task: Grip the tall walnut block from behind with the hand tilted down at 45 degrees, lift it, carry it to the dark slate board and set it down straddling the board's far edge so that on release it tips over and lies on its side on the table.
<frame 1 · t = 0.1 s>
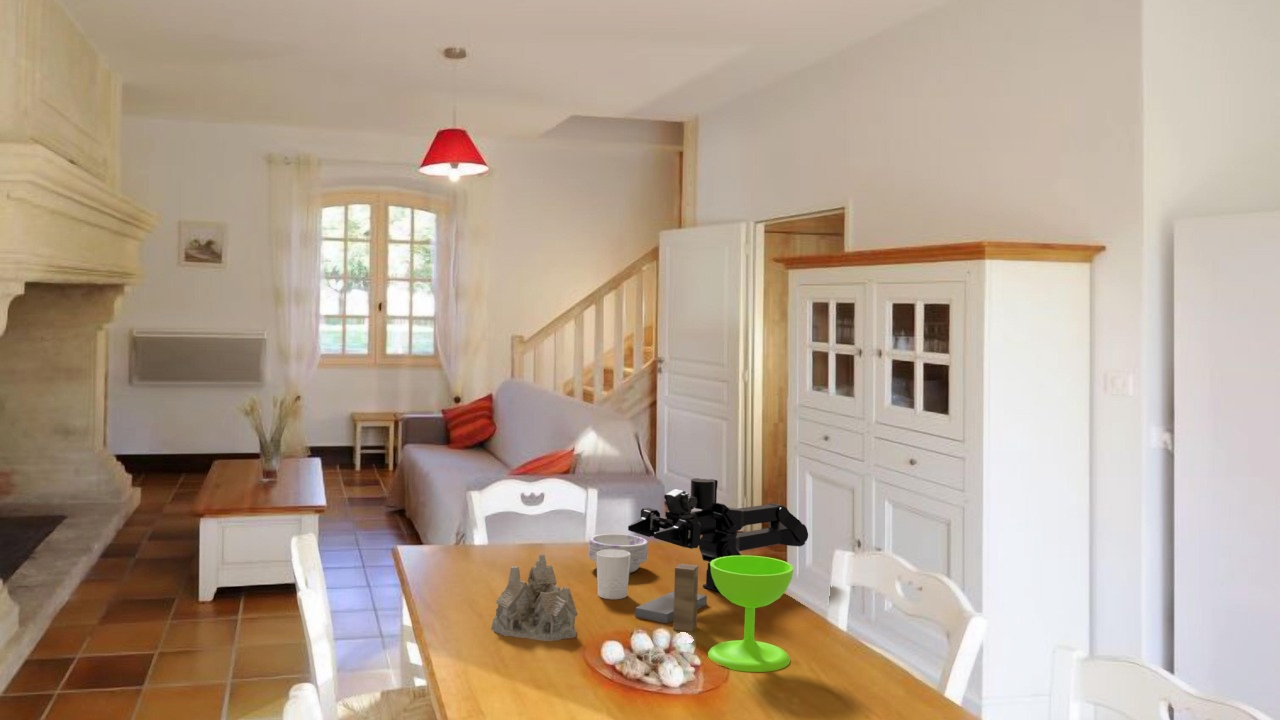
hand: (641, 531, 231), 17 cm above the table, fingers open, 9 cm apart
white cup: (612, 596, 238), on the table
slate board: (671, 610, 227), on the table
paper bowls: (617, 570, 263), on the table
walnut block: (684, 627, 215), on the table
ceramic cottage: (534, 631, 211), on the table
wineglass: (748, 658, 197), on the table
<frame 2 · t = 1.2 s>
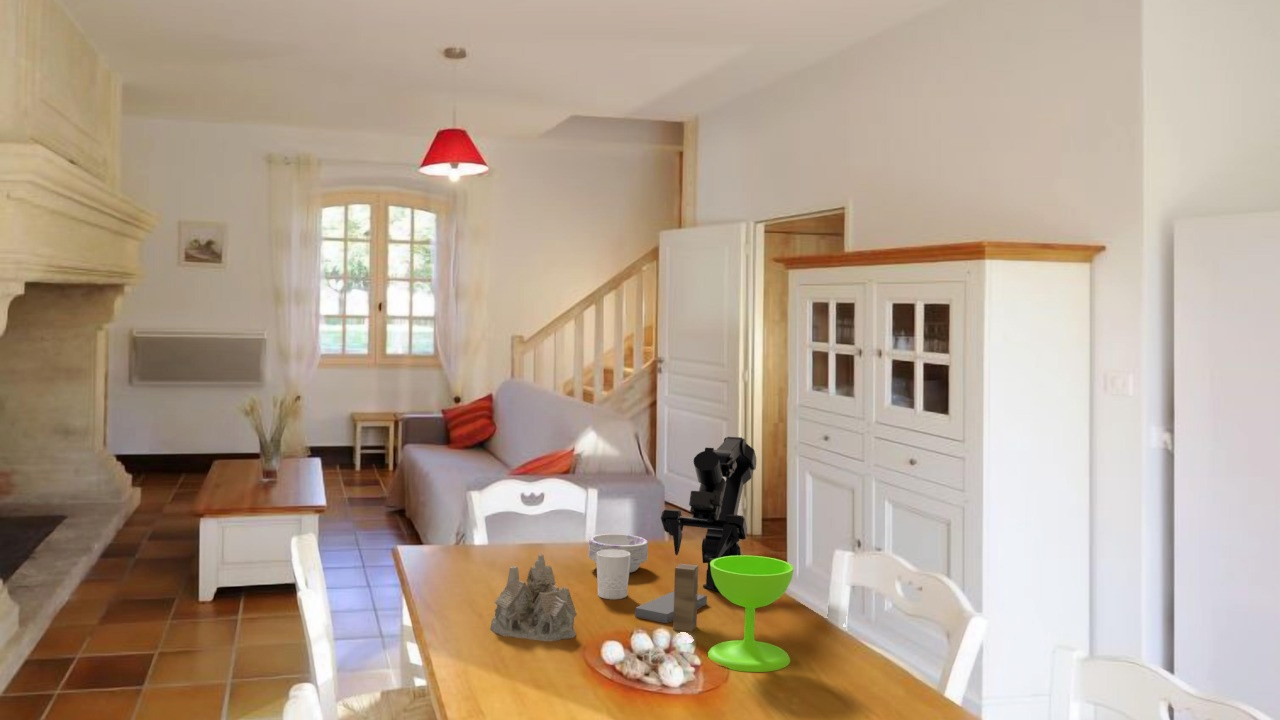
hand: (696, 556, 222), 13 cm above the table, fingers open, 9 cm apart
nothing on the table moved.
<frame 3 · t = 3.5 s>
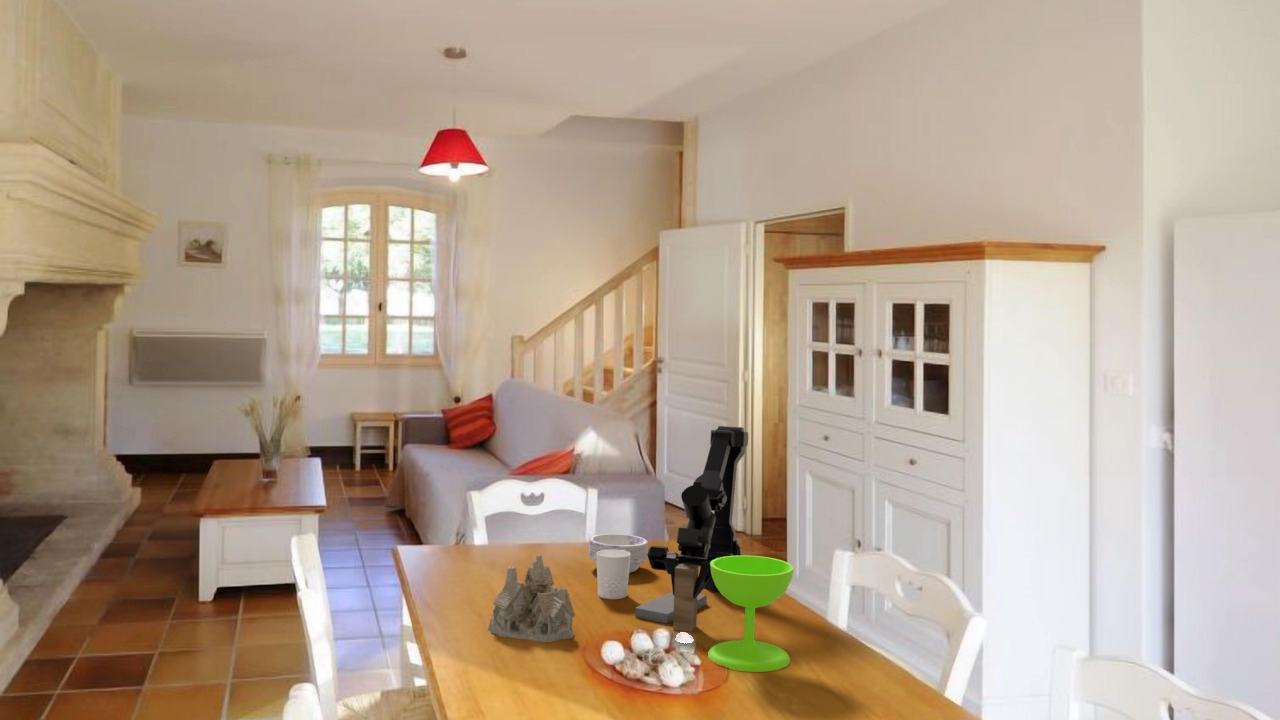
hand: (684, 596, 213), 7 cm above the table, fingers closed on walnut block, 4 cm apart
walnut block: (684, 627, 215), on the table, touching gripper
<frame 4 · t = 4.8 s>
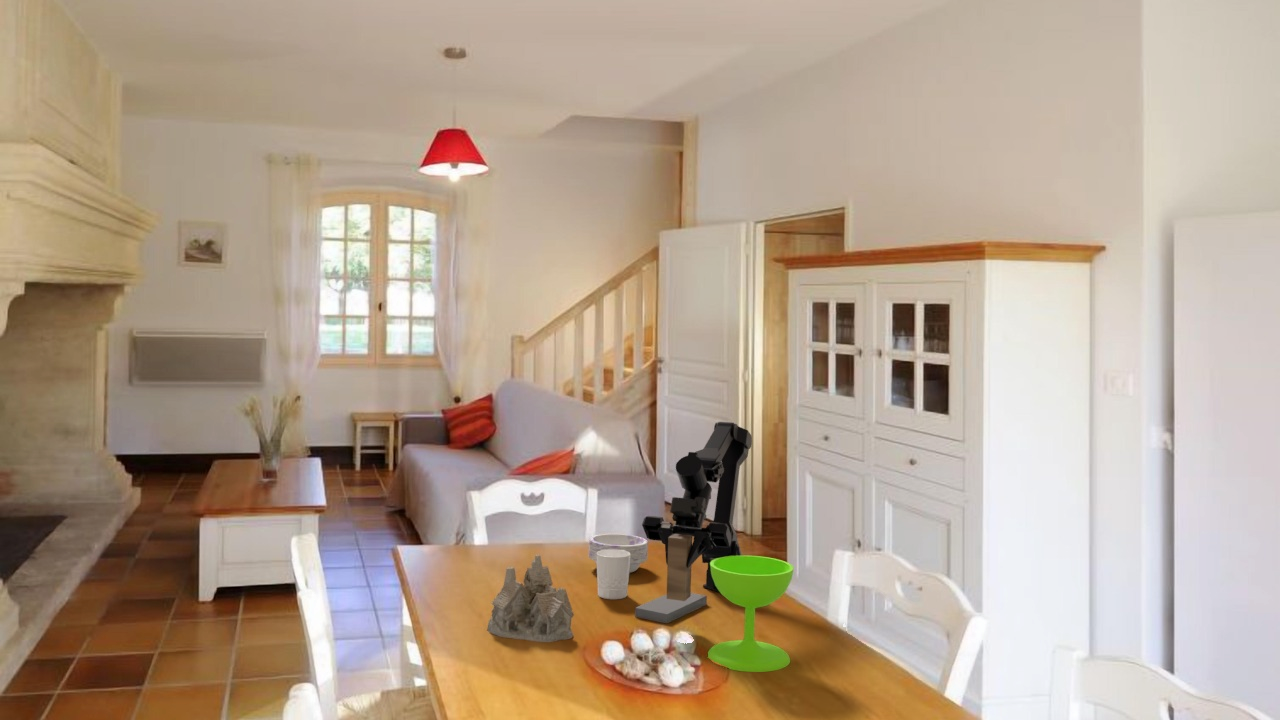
hand: (677, 565, 214), 13 cm above the table, fingers closed on walnut block, 4 cm apart
walnut block: (678, 597, 215), point 6 cm above the table, touching gripper
when the fingers open (10 cm above the table, at t = 6.4 s): walnut block stays where it is, resting on slate board.
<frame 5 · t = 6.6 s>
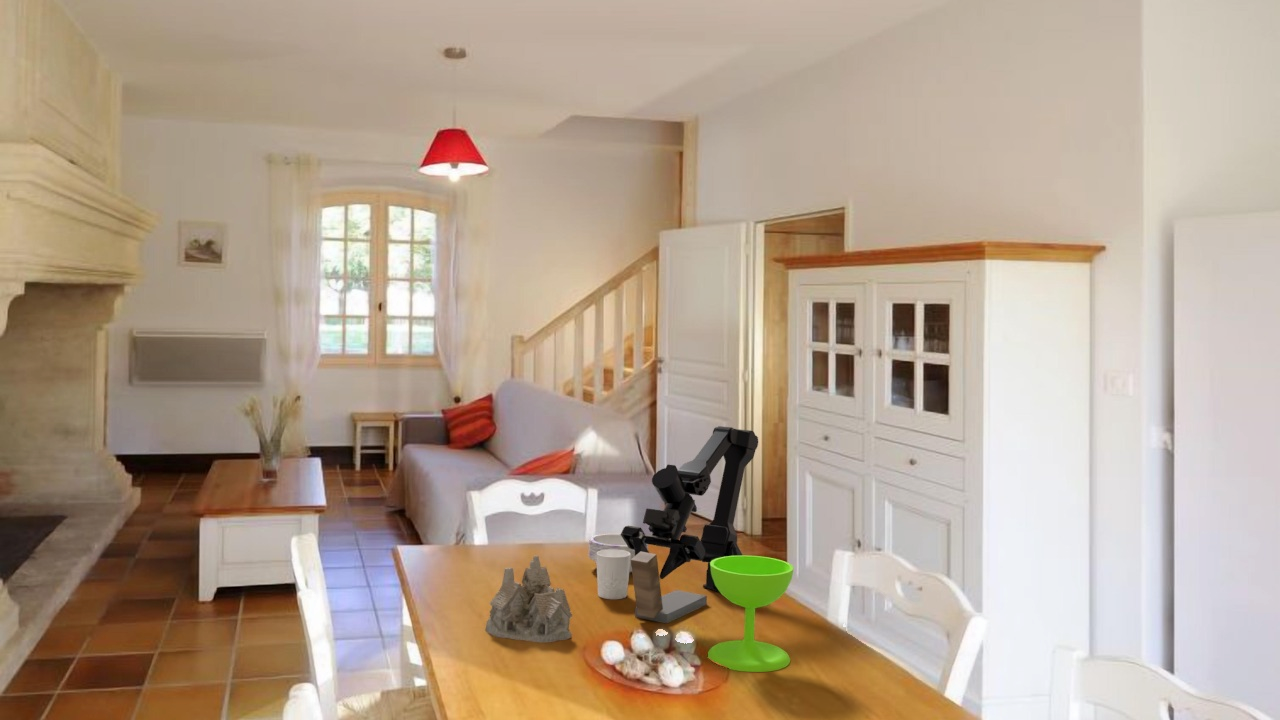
hand: (647, 575, 218), 10 cm above the table, fingers open, 6 cm apart
walnut block: (650, 611, 219), point 2 cm above the table, tilted 15°, touching slate board
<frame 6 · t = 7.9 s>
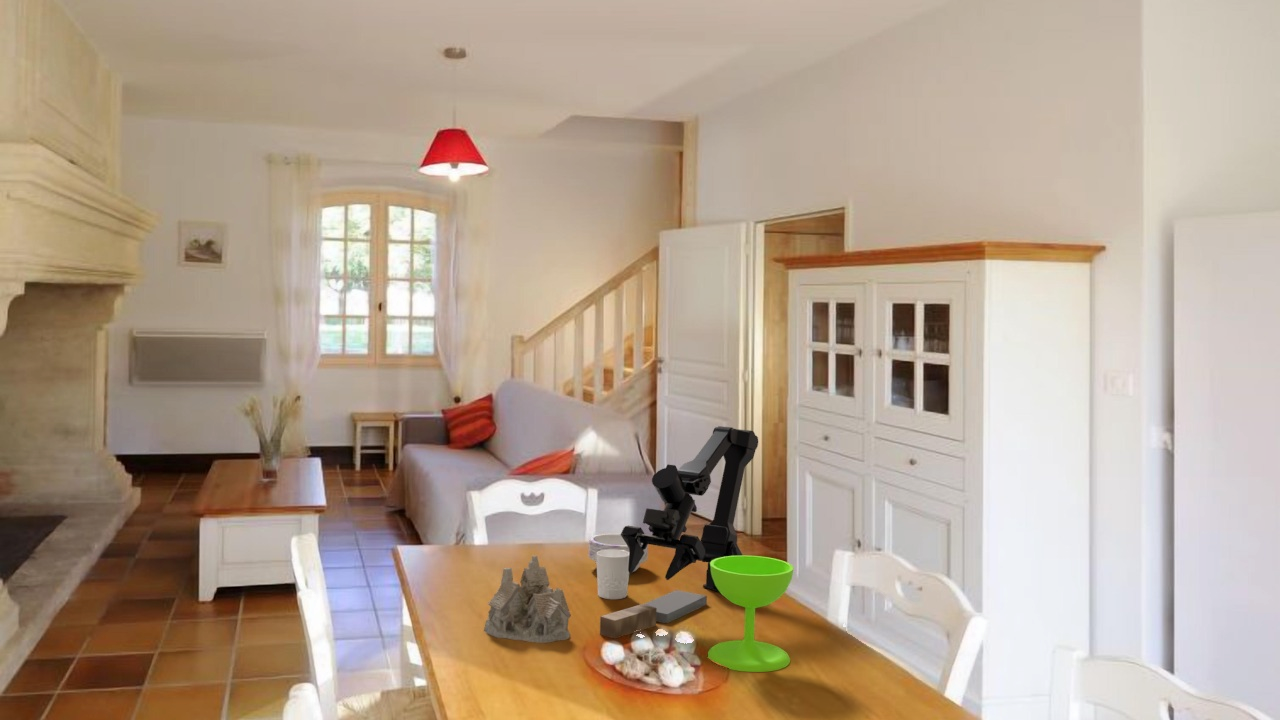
hand: (647, 575, 218), 10 cm above the table, fingers open, 9 cm apart
walnut block: (649, 615, 217), point 2 cm above the table, tilted 90°
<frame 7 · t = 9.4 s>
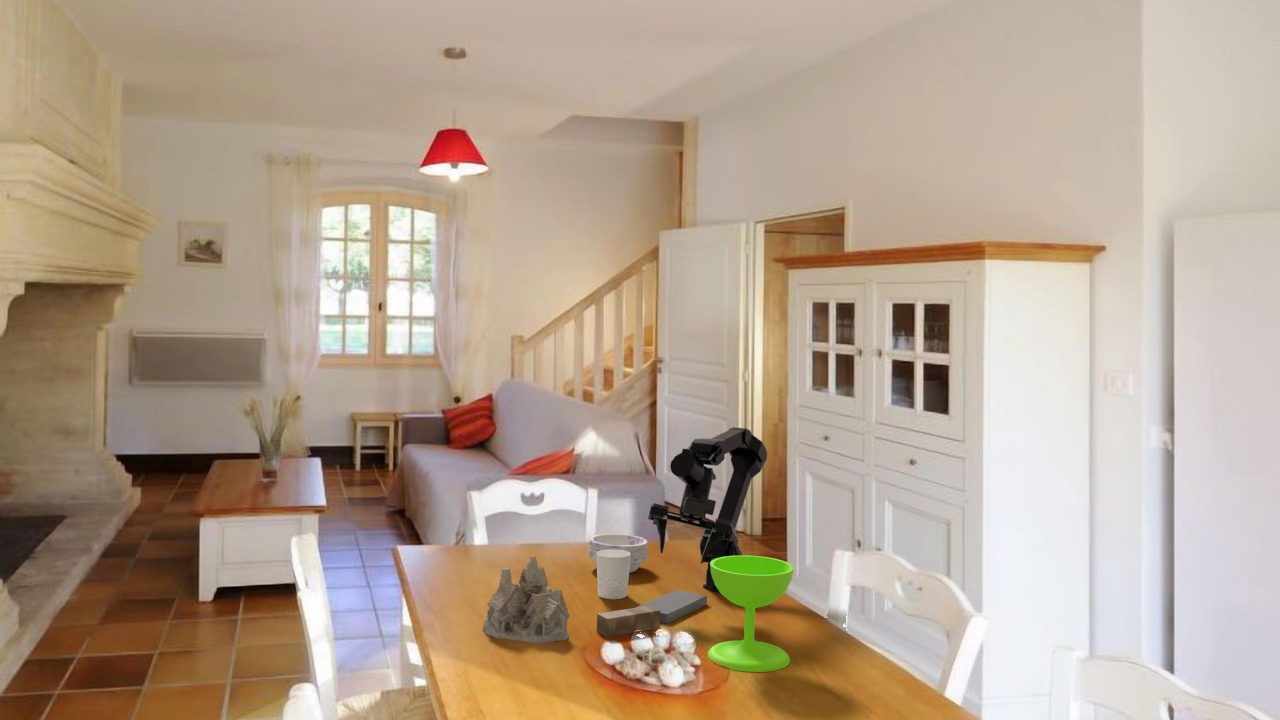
hand: (681, 558, 228), 12 cm above the table, fingers open, 9 cm apart
walnut block: (654, 617, 216), point 2 cm above the table, tilted 90°
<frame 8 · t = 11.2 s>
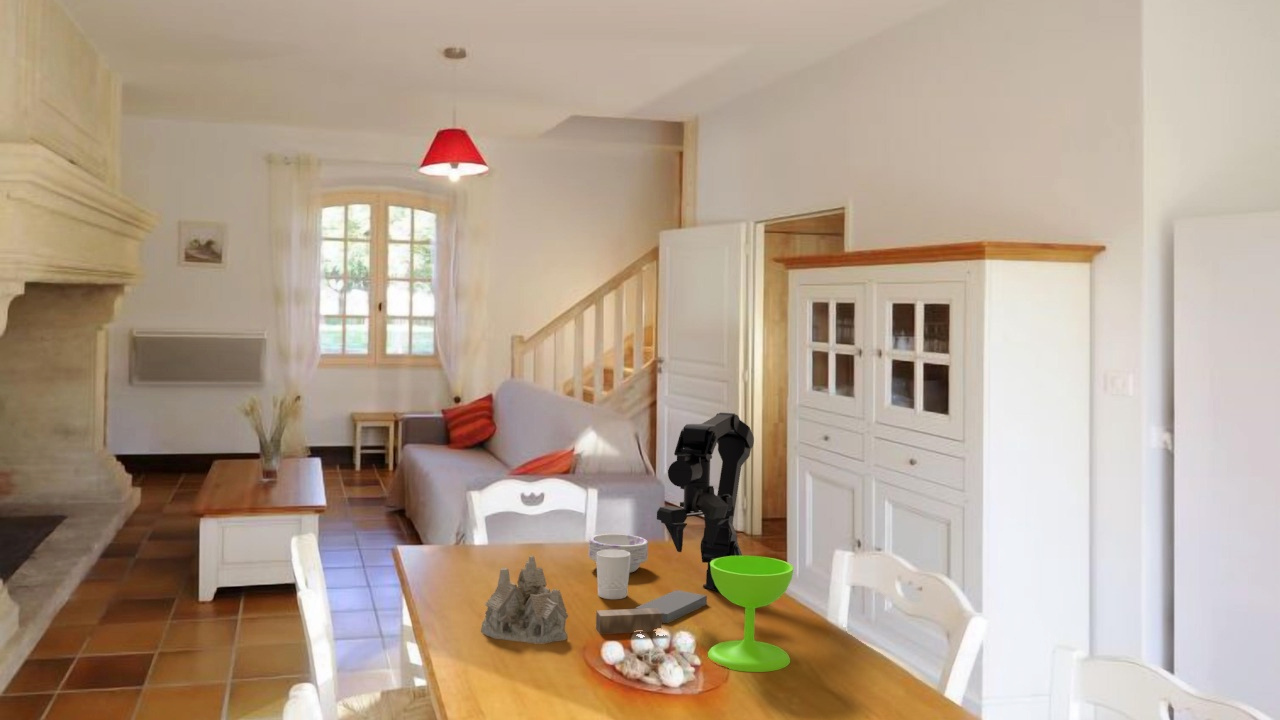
hand: (694, 549, 230), 13 cm above the table, fingers open, 9 cm apart
walnut block: (659, 620, 214), point 2 cm above the table, tilted 90°
at the end: walnut block tilted 90°; walnut block inside the target area (4.0 cm from its centre), point 1.7 cm above the table; the gripper is holding nothing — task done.
